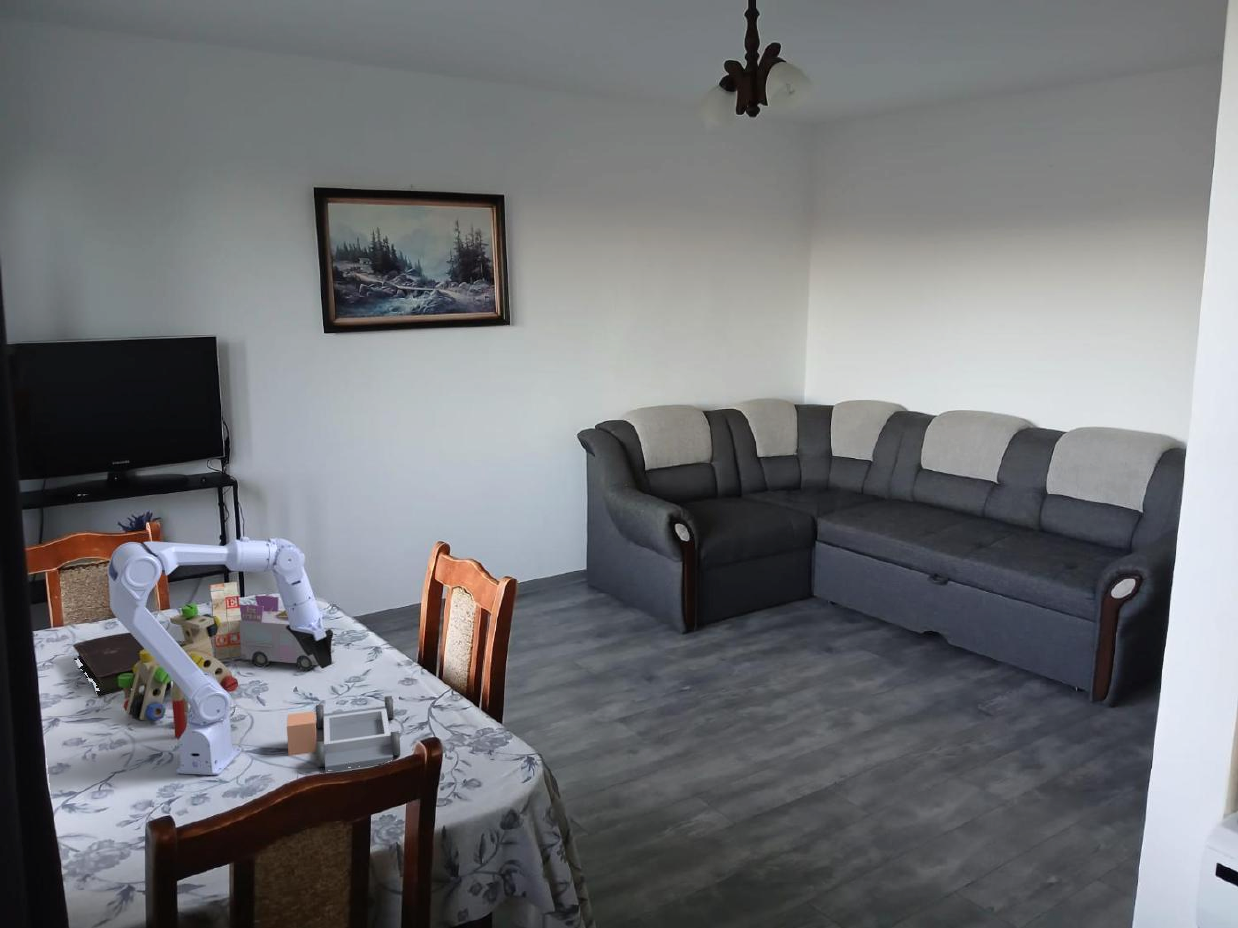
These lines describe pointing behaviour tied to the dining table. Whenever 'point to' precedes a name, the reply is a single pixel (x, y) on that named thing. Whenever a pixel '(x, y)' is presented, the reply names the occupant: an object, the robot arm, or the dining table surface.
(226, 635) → the stack of blocks
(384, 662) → the dining table surface
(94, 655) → the diary
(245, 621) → the toy vehicle
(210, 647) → the toy construction set
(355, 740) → the chassis
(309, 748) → the light orange block
